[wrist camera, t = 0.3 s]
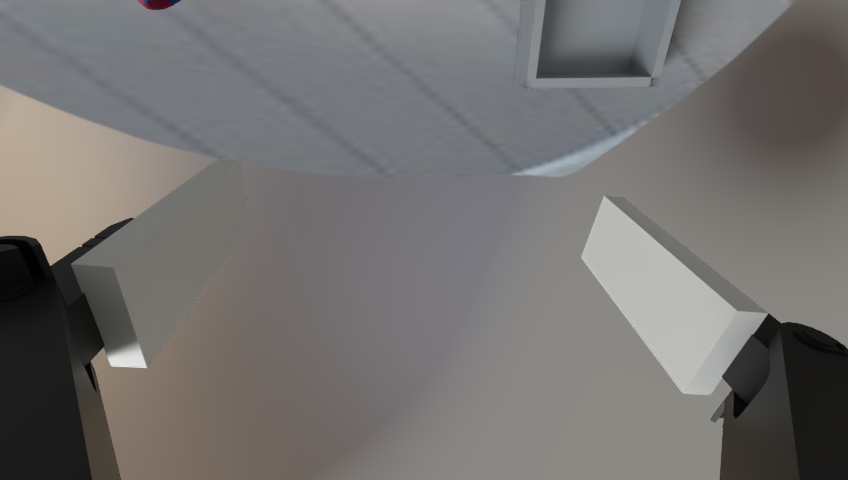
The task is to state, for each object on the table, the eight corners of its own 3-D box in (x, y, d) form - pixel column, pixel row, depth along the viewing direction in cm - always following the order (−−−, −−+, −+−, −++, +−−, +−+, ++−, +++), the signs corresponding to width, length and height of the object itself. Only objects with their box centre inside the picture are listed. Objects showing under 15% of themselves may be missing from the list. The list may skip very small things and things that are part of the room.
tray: (528, -71, 32) (545, -85, 28) (668, -71, 33) (703, -85, 29) (513, 82, 38) (525, 88, 34) (631, 80, 38) (657, 86, 34)
